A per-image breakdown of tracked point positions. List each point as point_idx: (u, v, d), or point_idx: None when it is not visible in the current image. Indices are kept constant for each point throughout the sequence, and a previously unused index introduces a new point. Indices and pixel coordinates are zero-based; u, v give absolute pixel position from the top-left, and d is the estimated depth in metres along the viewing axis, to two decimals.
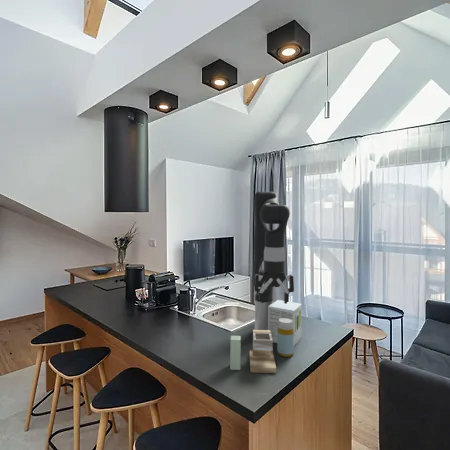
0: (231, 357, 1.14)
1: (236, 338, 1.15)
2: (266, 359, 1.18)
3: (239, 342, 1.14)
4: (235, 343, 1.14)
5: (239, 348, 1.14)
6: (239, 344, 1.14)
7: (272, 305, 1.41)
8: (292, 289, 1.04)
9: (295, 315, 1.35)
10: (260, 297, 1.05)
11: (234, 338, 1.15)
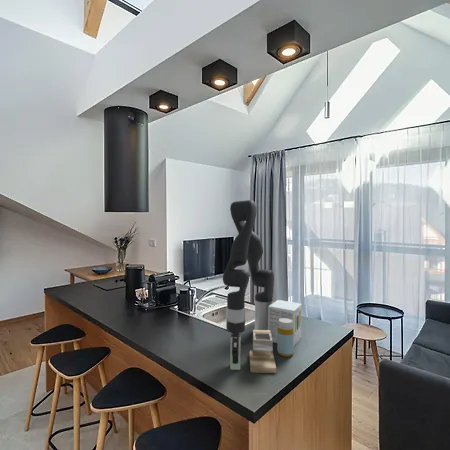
0: (231, 357, 1.14)
1: None
2: (266, 359, 1.18)
3: None
4: None
5: (239, 348, 1.14)
6: None
7: (272, 305, 1.41)
8: None
9: (295, 315, 1.35)
10: (237, 358, 1.13)
11: None
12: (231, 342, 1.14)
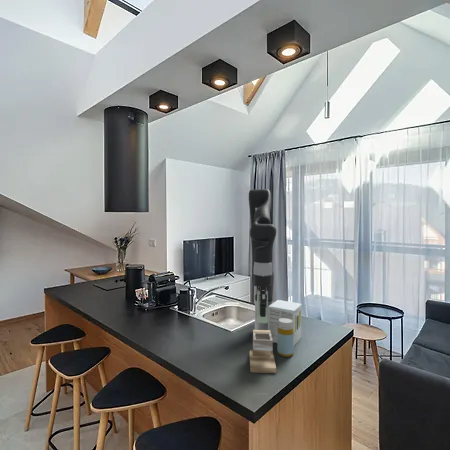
0: (258, 310, 1.15)
1: None
2: (266, 359, 1.18)
3: None
4: None
5: None
6: None
7: (272, 305, 1.41)
8: None
9: (294, 315, 1.35)
10: (264, 312, 1.14)
11: None
12: None
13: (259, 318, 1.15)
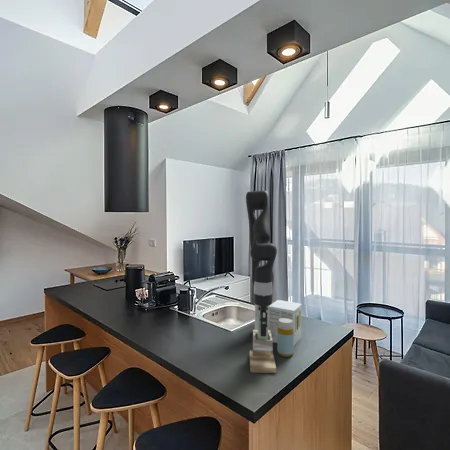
0: (259, 333, 1.15)
1: None
2: (266, 359, 1.18)
3: None
4: None
5: (267, 324, 1.15)
6: None
7: (272, 305, 1.41)
8: None
9: (294, 315, 1.35)
10: (265, 331, 1.13)
11: None
12: (259, 314, 1.14)
13: None
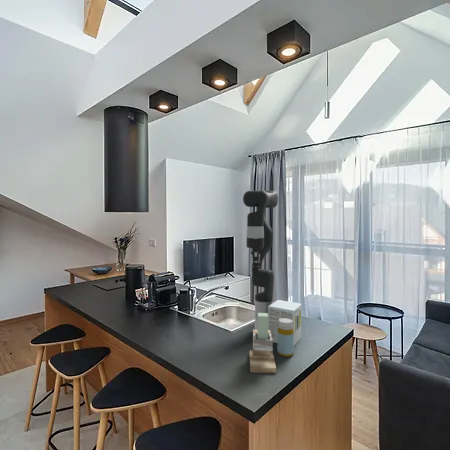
0: (259, 333, 1.15)
1: (263, 315, 1.16)
2: (266, 359, 1.18)
3: (267, 318, 1.15)
4: (262, 320, 1.15)
5: (267, 324, 1.15)
6: (266, 320, 1.15)
7: (272, 305, 1.41)
8: None
9: (295, 315, 1.35)
10: (257, 271, 1.19)
11: (262, 314, 1.17)
12: (251, 256, 1.22)
13: None
